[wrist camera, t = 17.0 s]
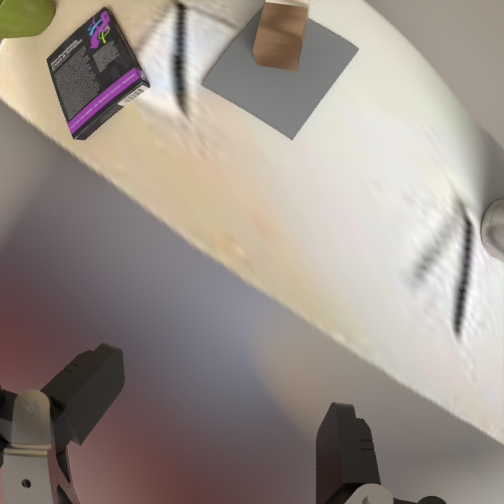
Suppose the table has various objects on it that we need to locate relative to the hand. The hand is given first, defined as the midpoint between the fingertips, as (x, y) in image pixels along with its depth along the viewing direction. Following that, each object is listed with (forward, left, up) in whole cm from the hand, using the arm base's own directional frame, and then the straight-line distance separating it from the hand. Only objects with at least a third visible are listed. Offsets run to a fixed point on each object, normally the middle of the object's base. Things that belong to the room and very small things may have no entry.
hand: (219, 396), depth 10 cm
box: (+38, -6, -31) cm, 49 cm away
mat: (+12, -19, -30) cm, 38 cm away
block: (+12, -18, -27) cm, 34 cm away
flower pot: (+63, -11, -30) cm, 71 cm away
